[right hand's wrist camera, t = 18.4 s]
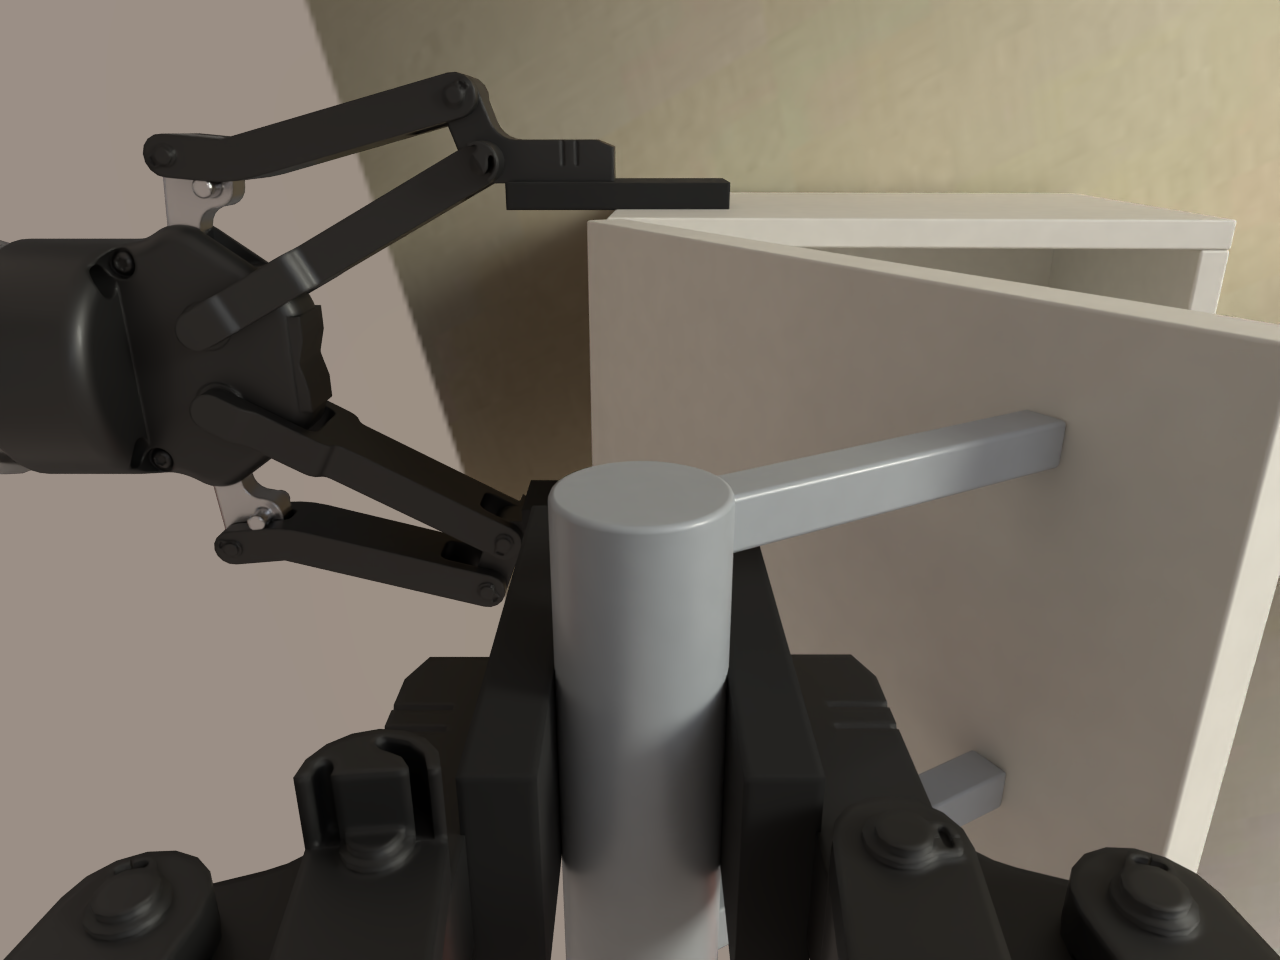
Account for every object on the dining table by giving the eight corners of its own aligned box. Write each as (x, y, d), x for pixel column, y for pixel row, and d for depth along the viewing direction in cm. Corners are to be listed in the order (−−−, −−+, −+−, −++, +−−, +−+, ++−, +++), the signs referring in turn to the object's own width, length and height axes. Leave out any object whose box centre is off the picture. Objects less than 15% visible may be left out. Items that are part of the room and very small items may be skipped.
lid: (1348, 334, 10) (725, 465, 6) (1173, 963, 14) (696, 1307, 10) (622, 218, 24) (281, 236, 20) (625, 547, 27) (334, 619, 23)
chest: (1075, 192, 33) (1237, 219, 23) (1035, 440, 37) (1162, 556, 27) (632, 191, 34) (606, 217, 24) (633, 433, 38) (611, 543, 28)
